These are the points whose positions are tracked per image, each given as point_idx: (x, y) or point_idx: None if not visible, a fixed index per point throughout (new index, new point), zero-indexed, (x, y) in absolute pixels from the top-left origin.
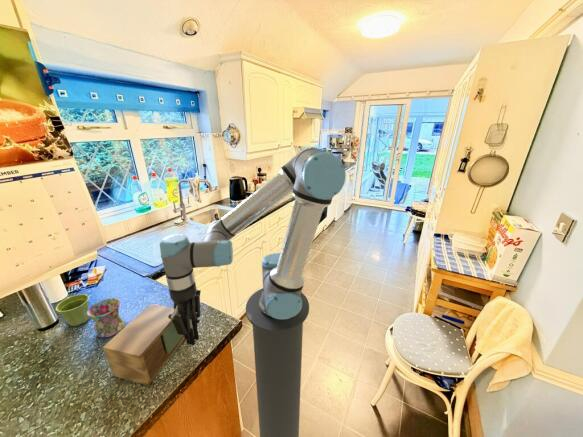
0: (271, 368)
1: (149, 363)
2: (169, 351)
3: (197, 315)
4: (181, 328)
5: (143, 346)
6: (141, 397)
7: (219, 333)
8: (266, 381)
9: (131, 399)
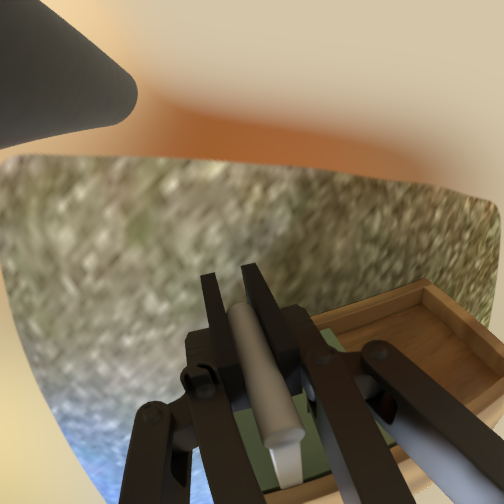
0: (63, 39)
1: (428, 338)
2: (328, 335)
3: (172, 431)
4: (457, 403)
5: (498, 405)
6: (451, 262)
7: (85, 199)
8: (83, 66)
9: (454, 281)
